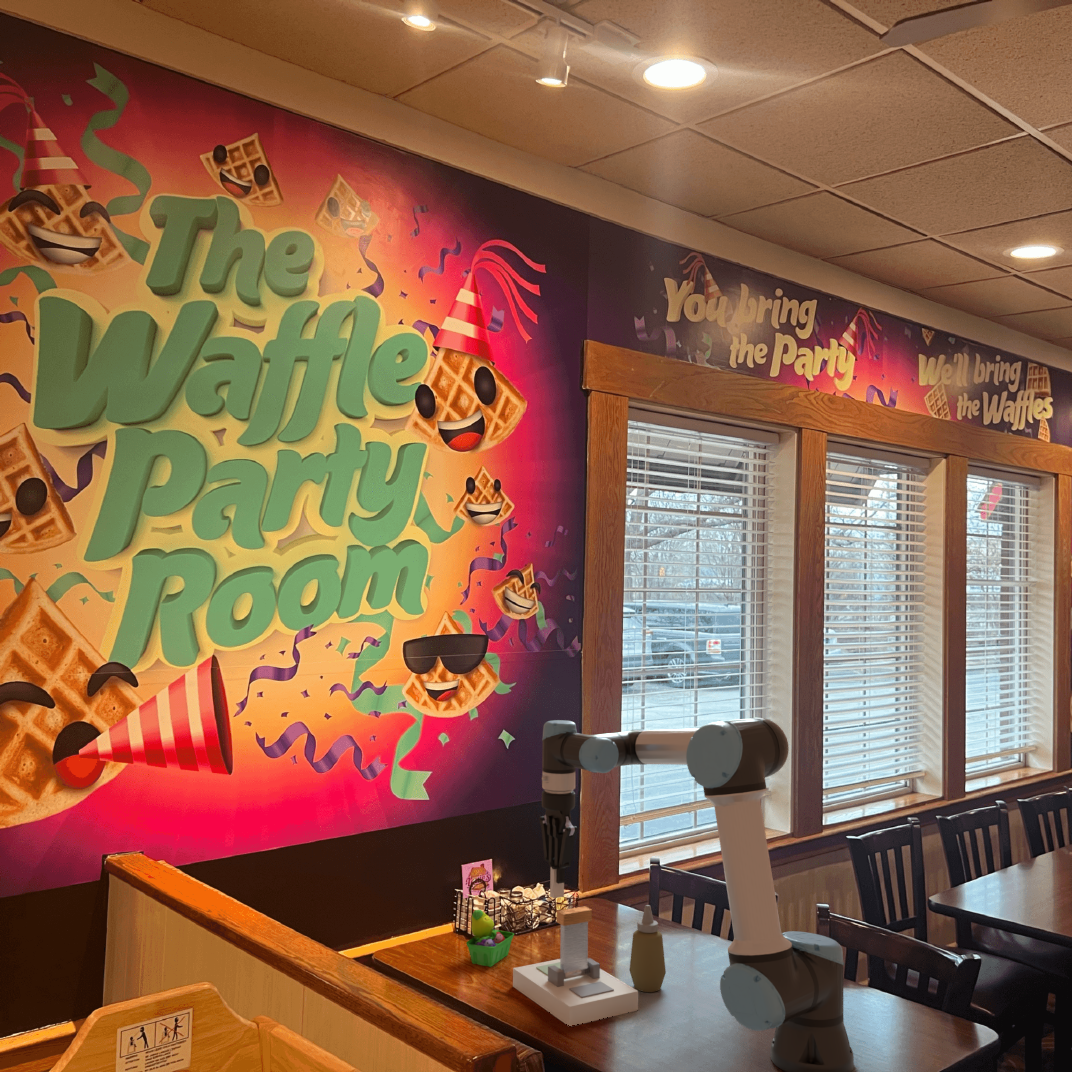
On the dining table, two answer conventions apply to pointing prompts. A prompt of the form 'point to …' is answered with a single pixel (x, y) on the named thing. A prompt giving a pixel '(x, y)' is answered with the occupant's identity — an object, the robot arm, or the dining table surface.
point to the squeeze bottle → (647, 954)
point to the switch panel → (575, 992)
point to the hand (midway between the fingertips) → (556, 896)
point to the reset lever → (574, 941)
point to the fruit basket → (487, 941)
